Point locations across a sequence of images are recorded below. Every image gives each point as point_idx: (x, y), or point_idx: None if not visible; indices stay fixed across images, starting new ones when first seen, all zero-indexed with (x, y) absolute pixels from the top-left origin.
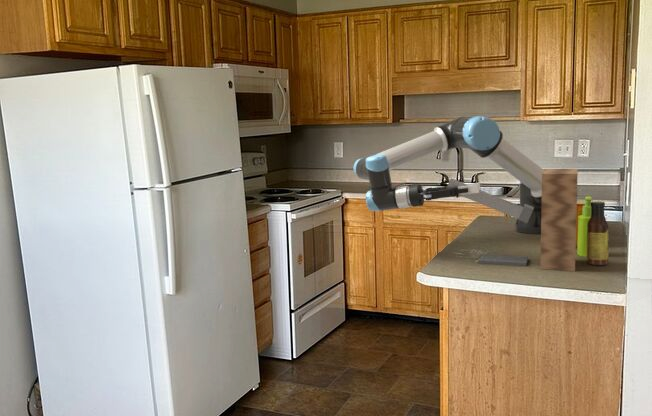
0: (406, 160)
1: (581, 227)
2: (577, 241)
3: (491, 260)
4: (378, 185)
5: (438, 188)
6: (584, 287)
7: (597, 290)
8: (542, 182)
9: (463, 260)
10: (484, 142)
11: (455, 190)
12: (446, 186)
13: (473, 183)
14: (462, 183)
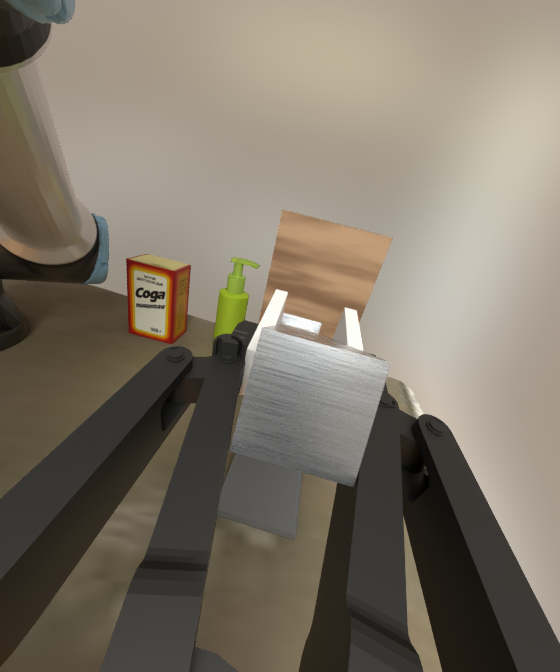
0: None
1: (239, 313)
2: (175, 332)
3: (292, 494)
4: None
5: (200, 606)
6: (399, 401)
7: (404, 394)
8: (383, 260)
9: (254, 597)
10: None
11: (412, 419)
12: (68, 444)
13: (271, 303)
14: (302, 333)
